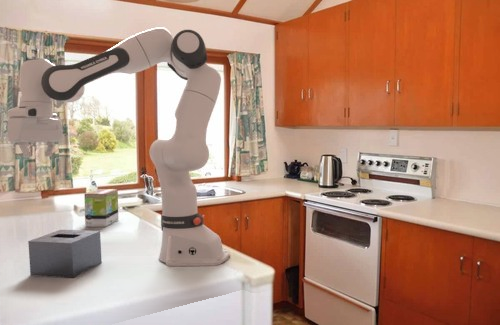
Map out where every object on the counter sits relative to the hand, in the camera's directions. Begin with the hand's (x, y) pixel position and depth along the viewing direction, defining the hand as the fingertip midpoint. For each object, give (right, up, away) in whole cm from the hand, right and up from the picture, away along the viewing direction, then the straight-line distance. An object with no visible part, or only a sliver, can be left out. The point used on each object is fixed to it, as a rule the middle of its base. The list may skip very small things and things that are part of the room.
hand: (38, 157), depth 129 cm
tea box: (-1, -29, +58) cm, 65 cm away
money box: (+11, -34, -4) cm, 36 cm away
